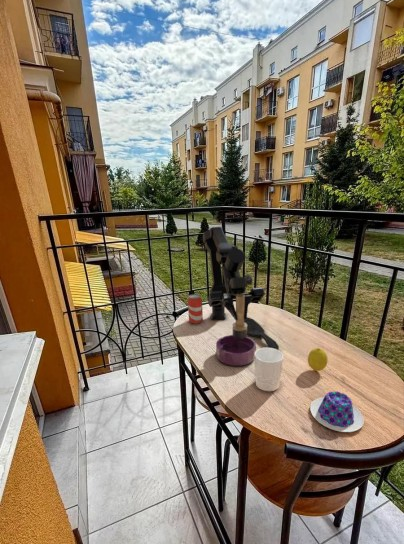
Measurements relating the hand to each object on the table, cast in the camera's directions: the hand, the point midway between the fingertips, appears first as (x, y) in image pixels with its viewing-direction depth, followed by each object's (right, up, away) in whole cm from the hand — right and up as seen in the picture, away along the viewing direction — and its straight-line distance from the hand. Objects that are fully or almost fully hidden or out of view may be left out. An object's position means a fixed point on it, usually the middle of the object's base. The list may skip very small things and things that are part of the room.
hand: (241, 319), depth 92 cm
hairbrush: (+10, -8, +17) cm, 21 cm away
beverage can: (-16, -3, +32) cm, 36 cm away
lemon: (+23, -16, -5) cm, 28 cm away
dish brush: (0, -6, +4) cm, 7 cm away
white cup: (+6, -18, -11) cm, 22 cm away
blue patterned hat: (+20, -22, -23) cm, 38 cm away
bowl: (-1, -13, +4) cm, 14 cm away
